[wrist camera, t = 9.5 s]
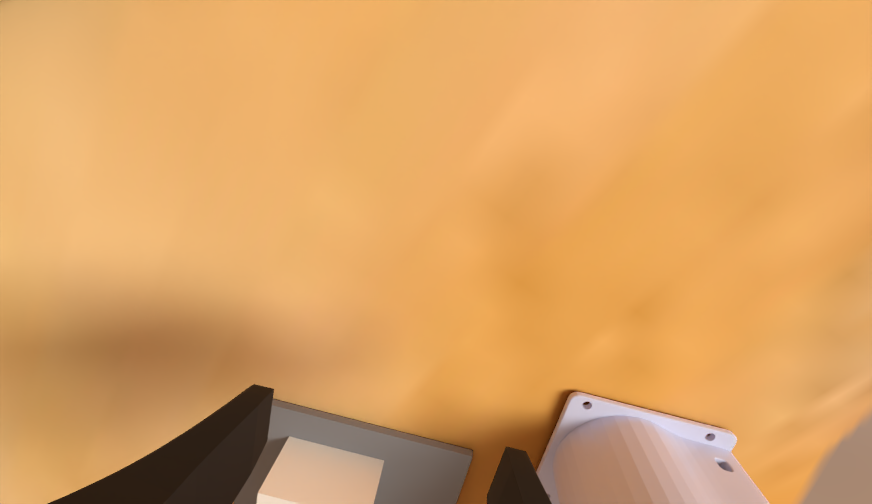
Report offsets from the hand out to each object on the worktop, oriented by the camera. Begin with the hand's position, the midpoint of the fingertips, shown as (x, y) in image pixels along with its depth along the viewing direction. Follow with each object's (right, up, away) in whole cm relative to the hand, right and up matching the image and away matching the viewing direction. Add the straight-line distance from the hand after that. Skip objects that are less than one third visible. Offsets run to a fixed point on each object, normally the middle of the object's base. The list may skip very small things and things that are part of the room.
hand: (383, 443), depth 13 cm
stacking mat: (-4, -9, +14) cm, 18 cm away
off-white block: (-5, -9, +14) cm, 18 cm away
